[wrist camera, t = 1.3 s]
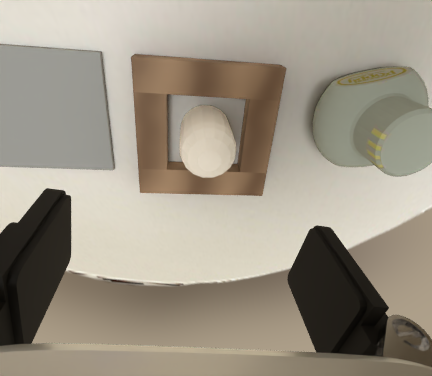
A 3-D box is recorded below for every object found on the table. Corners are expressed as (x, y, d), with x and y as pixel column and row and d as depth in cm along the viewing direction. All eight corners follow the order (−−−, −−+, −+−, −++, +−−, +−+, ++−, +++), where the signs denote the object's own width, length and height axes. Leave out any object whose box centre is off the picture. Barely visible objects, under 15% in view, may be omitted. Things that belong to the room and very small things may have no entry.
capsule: (213, 94, 30) (220, 119, 23) (238, 136, 32) (251, 169, 25) (170, 122, 31) (165, 153, 24) (198, 160, 33) (200, 198, 26)
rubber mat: (101, 51, 27) (99, 52, 26) (114, 167, 33) (113, 170, 32) (-41, 41, 26) (-45, 41, 25) (0, 163, 32) (-3, 166, 31)
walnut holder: (280, 64, 29) (286, 68, 27) (258, 186, 36) (262, 195, 34) (134, 54, 27) (131, 56, 25) (142, 183, 34) (140, 192, 33)
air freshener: (305, 154, 34) (344, 202, 26) (301, 83, 30) (347, 111, 21) (398, 133, 34) (470, 175, 25) (408, 58, 29) (499, 76, 21)
